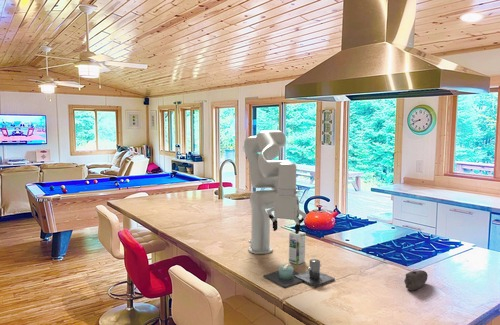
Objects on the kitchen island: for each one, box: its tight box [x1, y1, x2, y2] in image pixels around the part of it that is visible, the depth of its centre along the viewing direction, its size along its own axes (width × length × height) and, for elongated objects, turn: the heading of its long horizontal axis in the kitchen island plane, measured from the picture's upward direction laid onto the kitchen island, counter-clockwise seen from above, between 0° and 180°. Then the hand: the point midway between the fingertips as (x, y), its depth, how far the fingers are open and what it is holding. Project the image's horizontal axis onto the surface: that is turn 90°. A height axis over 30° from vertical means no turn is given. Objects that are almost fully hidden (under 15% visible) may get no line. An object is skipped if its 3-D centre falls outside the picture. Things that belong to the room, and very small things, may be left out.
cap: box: [278, 263, 294, 280], centre depth 159 cm, size 6×6×5 cm
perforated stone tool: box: [403, 269, 428, 292], centre depth 151 cm, size 15×5×7 cm, turn 126°
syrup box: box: [288, 230, 306, 266], centre depth 178 cm, size 6×6×14 cm
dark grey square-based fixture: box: [294, 258, 336, 288], centre depth 158 cm, size 12×12×8 cm
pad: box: [262, 270, 304, 289], centre depth 160 cm, size 14×14×1 cm
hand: (286, 231), depth 158 cm, fingers open, 9 cm apart
